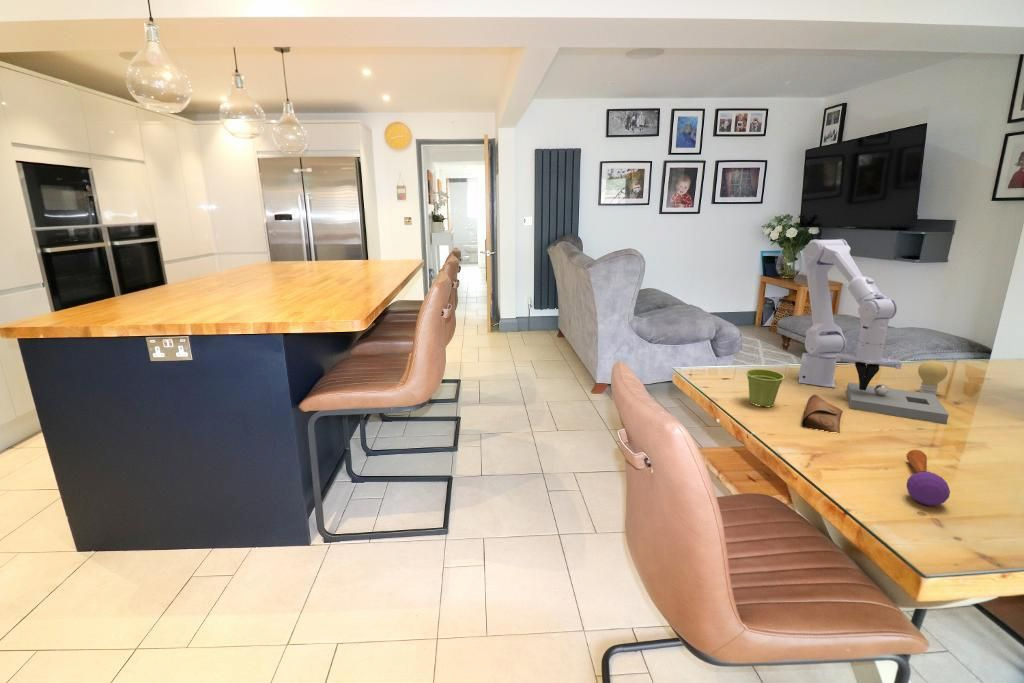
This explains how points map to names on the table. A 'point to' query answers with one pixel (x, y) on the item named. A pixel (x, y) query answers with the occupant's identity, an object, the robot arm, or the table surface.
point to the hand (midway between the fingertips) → (862, 389)
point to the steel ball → (881, 389)
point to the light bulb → (931, 376)
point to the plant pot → (763, 386)
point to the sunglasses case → (821, 415)
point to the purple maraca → (925, 481)
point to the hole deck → (897, 403)
